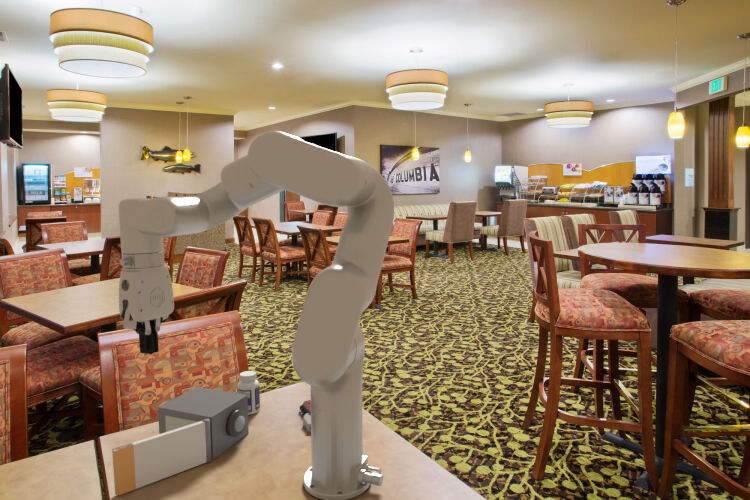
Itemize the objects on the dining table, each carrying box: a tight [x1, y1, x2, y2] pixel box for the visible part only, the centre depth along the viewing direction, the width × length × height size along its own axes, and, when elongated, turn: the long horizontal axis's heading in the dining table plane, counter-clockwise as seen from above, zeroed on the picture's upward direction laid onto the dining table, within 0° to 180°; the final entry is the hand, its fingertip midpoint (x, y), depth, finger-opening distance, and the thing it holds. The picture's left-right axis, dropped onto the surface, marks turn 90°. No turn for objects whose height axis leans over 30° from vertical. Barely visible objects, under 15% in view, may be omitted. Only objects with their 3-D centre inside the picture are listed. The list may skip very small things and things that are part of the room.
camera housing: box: [157, 386, 249, 461], centre depth 107 cm, size 16×12×9 cm
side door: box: [111, 419, 213, 497], centre depth 93 cm, size 18×1×9 cm, turn 133°
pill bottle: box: [236, 370, 261, 416], centre depth 122 cm, size 5×5×10 cm
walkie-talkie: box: [299, 399, 311, 433], centre depth 115 cm, size 9×4×20 cm
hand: (149, 352), depth 98 cm, fingers closed
